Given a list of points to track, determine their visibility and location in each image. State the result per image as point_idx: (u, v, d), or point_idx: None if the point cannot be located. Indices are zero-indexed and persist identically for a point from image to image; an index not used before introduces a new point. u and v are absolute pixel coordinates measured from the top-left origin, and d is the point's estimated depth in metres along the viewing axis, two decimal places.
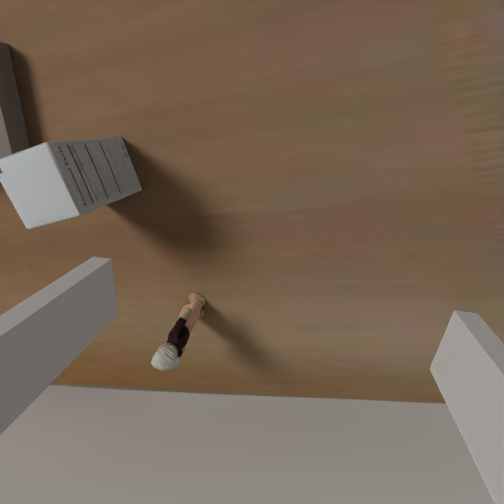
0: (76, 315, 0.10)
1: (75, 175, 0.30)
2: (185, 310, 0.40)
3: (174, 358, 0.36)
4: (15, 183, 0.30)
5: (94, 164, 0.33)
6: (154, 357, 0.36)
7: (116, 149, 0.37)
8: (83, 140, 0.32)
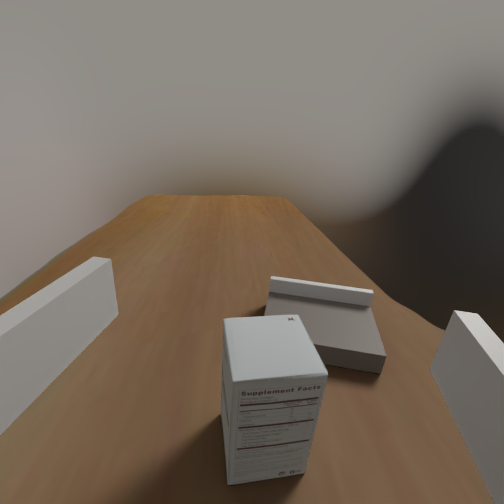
0: (76, 315, 0.10)
1: (283, 394, 0.22)
2: None
3: None
4: (277, 327, 0.26)
5: (285, 424, 0.23)
6: None
7: (293, 461, 0.26)
8: (316, 419, 0.24)
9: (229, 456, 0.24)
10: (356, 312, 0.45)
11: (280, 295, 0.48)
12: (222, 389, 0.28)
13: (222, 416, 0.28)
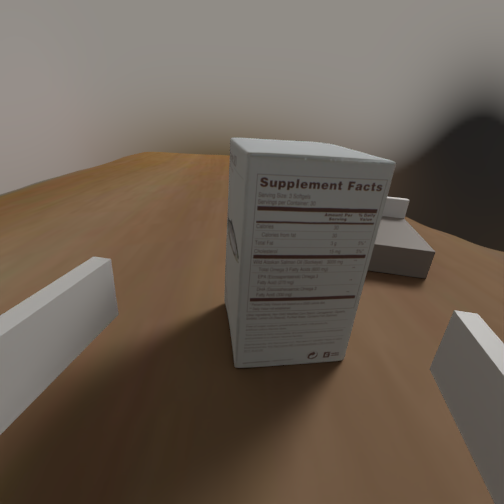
0: (76, 315, 0.10)
1: (325, 193, 0.14)
2: None
3: None
4: (308, 143, 0.18)
5: (324, 259, 0.16)
6: None
7: (330, 334, 0.18)
8: (369, 258, 0.16)
9: (238, 312, 0.16)
10: (388, 221, 0.38)
11: None
12: None
13: (227, 288, 0.21)
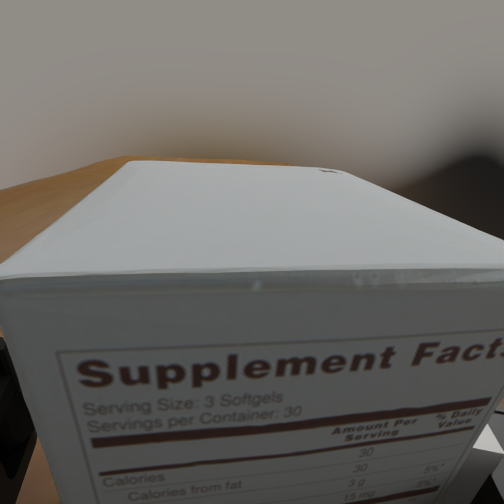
0: None
1: (333, 382, 0.04)
2: None
3: None
4: (291, 174, 0.08)
5: None
6: None
7: None
8: (446, 486, 0.06)
9: None
10: None
11: None
12: None
13: None
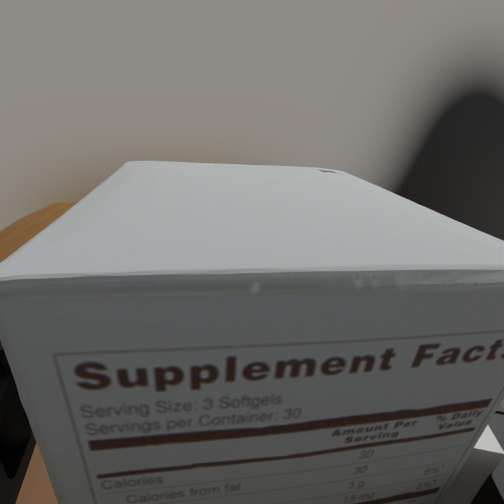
0: None
1: (333, 384, 0.04)
2: None
3: None
4: (290, 174, 0.08)
5: None
6: None
7: None
8: (447, 487, 0.06)
9: None
10: None
11: None
12: None
13: None
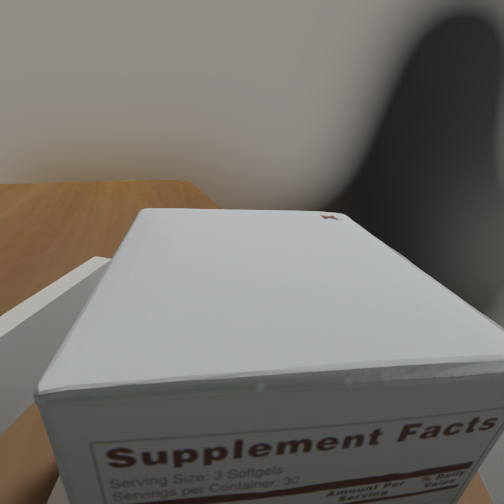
0: (77, 315, 0.10)
1: (327, 457, 0.05)
2: None
3: None
4: (293, 226, 0.09)
5: None
6: None
7: None
8: None
9: None
10: None
11: None
12: None
13: None
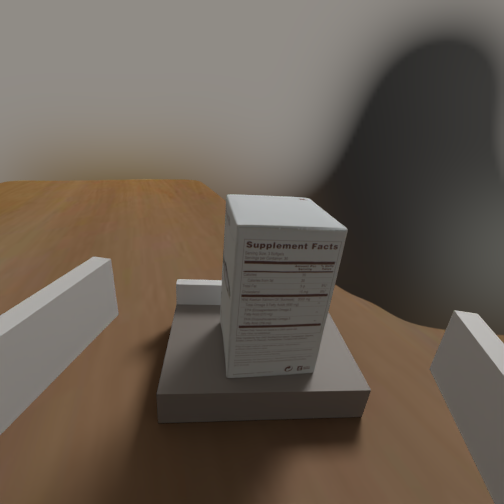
0: (76, 315, 0.10)
1: (294, 251, 0.19)
2: None
3: None
4: (287, 201, 0.23)
5: (295, 297, 0.20)
6: None
7: (302, 352, 0.23)
8: (331, 296, 0.21)
9: (230, 336, 0.21)
10: None
11: (195, 308, 0.31)
12: (223, 278, 0.25)
13: (222, 312, 0.25)
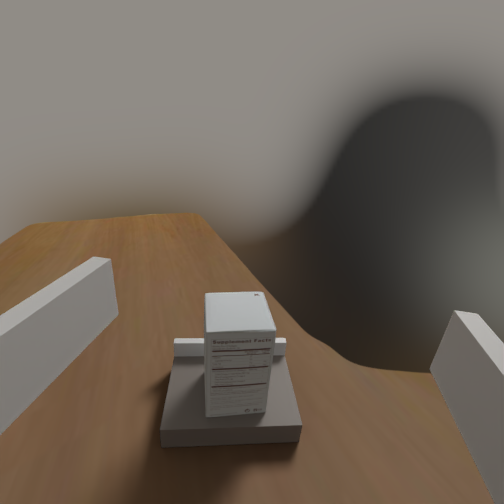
0: (76, 315, 0.10)
1: (243, 344, 0.30)
2: None
3: None
4: (245, 299, 0.35)
5: (247, 368, 0.32)
6: None
7: (255, 400, 0.34)
8: (270, 366, 0.33)
9: (206, 392, 0.33)
10: None
11: (187, 359, 0.42)
12: None
13: None
